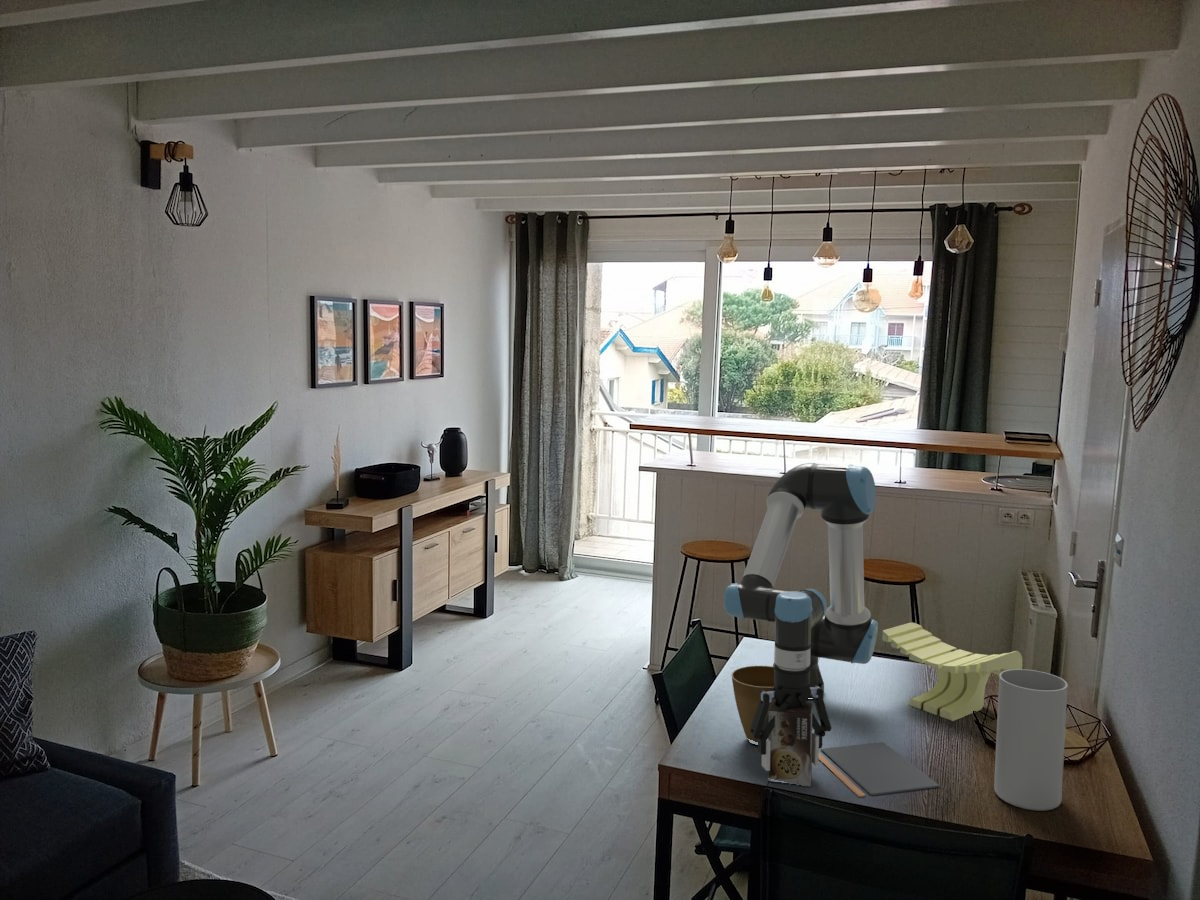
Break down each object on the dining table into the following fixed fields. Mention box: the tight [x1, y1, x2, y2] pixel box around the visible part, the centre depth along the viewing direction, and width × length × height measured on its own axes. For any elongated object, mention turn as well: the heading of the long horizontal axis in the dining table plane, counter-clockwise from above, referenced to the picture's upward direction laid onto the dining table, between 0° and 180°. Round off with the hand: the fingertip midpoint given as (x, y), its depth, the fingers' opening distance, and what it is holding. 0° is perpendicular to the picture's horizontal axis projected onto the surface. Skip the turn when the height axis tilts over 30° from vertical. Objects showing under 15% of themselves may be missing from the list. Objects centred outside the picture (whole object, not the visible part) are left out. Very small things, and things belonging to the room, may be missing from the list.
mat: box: [820, 741, 940, 796], centre depth 196 cm, size 22×16×1 cm
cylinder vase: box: [993, 668, 1069, 812], centre depth 182 cm, size 12×12×25 cm
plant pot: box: [731, 665, 776, 742], centre depth 209 cm, size 15×15×16 cm
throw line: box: [819, 752, 866, 798], centre depth 194 cm, size 22×2×1 cm, turn 13°
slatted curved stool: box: [881, 622, 1023, 722], centre depth 231 cm, size 30×16×18 cm, turn 36°
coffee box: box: [767, 700, 813, 788], centre depth 190 cm, size 9×6×16 cm
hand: (789, 765), depth 191 cm, fingers closed on coffee box, 10 cm apart
